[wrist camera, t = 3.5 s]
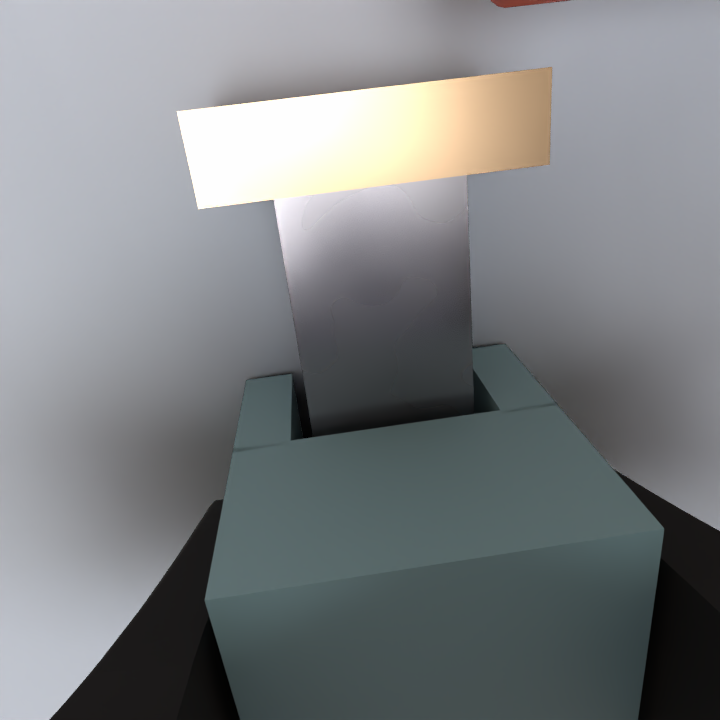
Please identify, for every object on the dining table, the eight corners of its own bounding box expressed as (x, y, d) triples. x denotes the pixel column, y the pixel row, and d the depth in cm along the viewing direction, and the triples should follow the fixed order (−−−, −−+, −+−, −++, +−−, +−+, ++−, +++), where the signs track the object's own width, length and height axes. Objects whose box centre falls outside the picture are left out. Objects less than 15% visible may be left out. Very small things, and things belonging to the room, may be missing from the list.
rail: (481, 77, 9) (552, 66, 6) (495, 776, 16) (530, 896, 13) (210, 109, 8) (177, 110, 6) (347, 801, 15) (356, 928, 13)
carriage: (505, 343, 10) (664, 528, 6) (505, 558, 12) (624, 816, 8) (246, 380, 10) (204, 600, 6) (291, 592, 12) (286, 877, 8)
